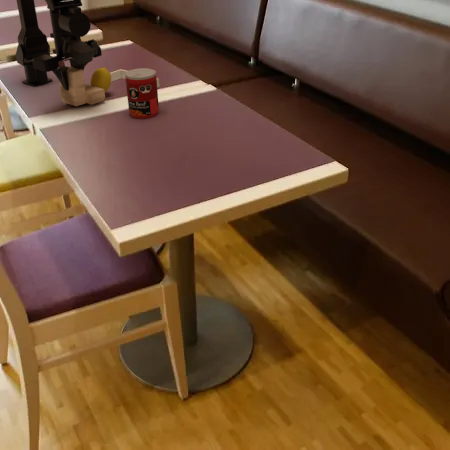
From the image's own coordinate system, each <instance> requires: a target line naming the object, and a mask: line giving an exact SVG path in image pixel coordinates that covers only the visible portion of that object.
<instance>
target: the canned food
mask: <svg viewBox="0 0 450 450" xmlns="http://www.w3.org/2000/svg"><path fill="white" fill-rule="evenodd" d="M127 71H128V72H126V74H125V75H126V76H125V78H126V79H125V85H126V86H125V87H126V95H127V105H128V113H129V115H130V116H131V117H132V118H135V119H144V120H145V119H151V118H154V117H156V116H157V115H158V114H159V111H160V107H159V106H160V105H159V92H158V88H157V78H158V77H157V70H155V69H152V68H148V67H147V68H146V67H141V68H133V69H131V70H127Z"/></svg>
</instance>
